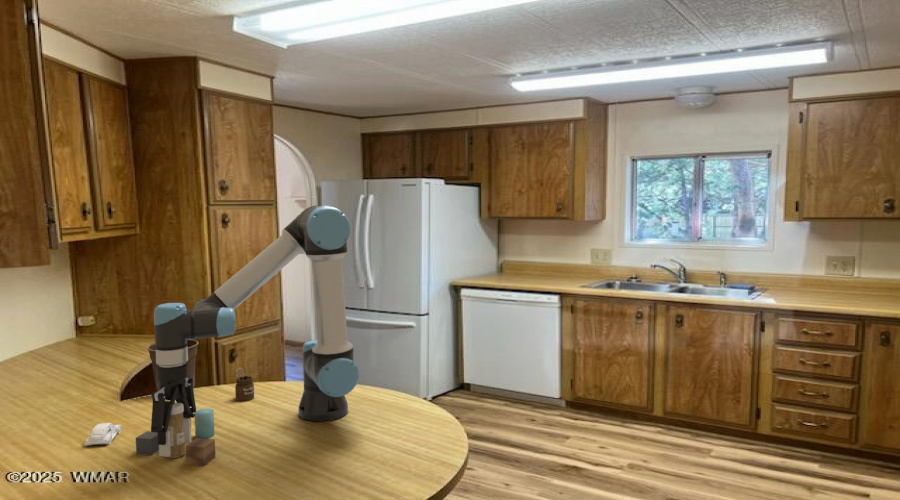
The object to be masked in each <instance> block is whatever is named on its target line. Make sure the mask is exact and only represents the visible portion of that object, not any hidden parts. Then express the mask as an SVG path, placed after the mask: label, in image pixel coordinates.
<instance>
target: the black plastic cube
mask: <svg viewBox="0 0 900 500" xmlns="http://www.w3.org/2000/svg"><path fill="white" fill-rule="evenodd" d="M135 452H136V455H141V456H142V455H144V456H145V455H146V456H153V455H154V454H156V453H159V444H158V433H156V432H151V430H150V431H149V430H146V431H145V432H143V433H141V434H140V435H138V436H136V437H135Z"/></svg>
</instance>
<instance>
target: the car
mask: <svg viewBox="0 0 900 500" xmlns="http://www.w3.org/2000/svg"><path fill="white" fill-rule="evenodd" d="M122 428H123V425H121V424H114V423H112V422H102V423H97V424H96V425H95V426H94V427H93V429H92V430H91V432H90V435H89V436H88V437H86V439H85V441H84V446H86V447H89V446H93V445H95V446H96V445H106V446H109V444H110V445H111V444H112V442H113V440H114V438H115V437H116V435H117V434H120V433H121V432H122Z"/></svg>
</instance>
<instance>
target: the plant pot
mask: <svg viewBox="0 0 900 500" xmlns="http://www.w3.org/2000/svg"><path fill="white" fill-rule="evenodd" d="M198 346H199V341H198V340H195V339H188V340H187V348H188V361H186V362H187V363H188V374H189V375H188V377H187V378H193V389H194V388H195V384H196V383H195V382H196V378H195V376H196V357H197V356H196V355H197V353H198ZM146 350H147V351H148V353H149V359H150V361H151V366H152V372H153V377H154V381H155V384H154V385H155V388H156V389H155V390H156V393H157V392H158V391H159V390H160V386H161V383H160V381H158V380H157V375H156V367H157V365H158V364H156V349H155V342H154V343H151V344H150V345H148V346H147V347H146Z"/></svg>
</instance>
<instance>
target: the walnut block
mask: <svg viewBox="0 0 900 500" xmlns="http://www.w3.org/2000/svg"><path fill="white" fill-rule="evenodd" d="M215 440H216V439H215V438H214V439H213V438H208V439H204V438H196V437H195V439H193V440H191V442H190V443H186V445H185V452H186V453H185V464H186V465H188V466H196V467H199V466H200V467H205V466H207V465H208V464H209V463H210V462H212V461H213V460H214V459H216V441H215Z"/></svg>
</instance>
